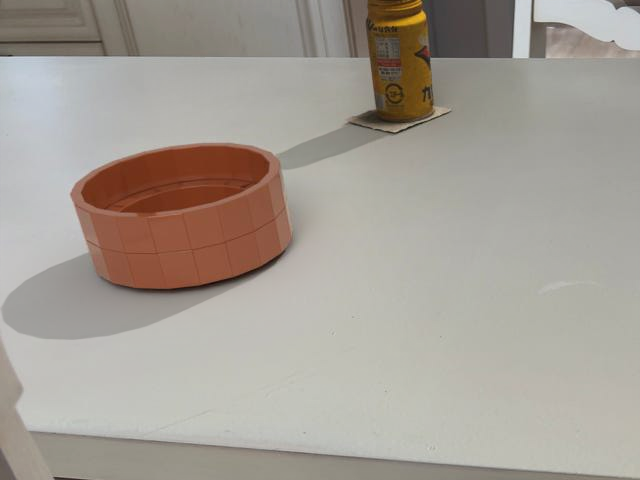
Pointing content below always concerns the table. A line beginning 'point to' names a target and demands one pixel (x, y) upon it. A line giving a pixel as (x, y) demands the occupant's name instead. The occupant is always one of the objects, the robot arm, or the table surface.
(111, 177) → the bowl
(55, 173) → the table surface
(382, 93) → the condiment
